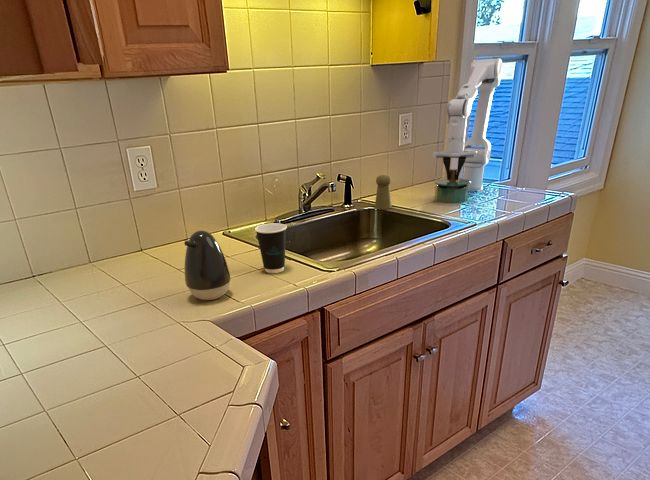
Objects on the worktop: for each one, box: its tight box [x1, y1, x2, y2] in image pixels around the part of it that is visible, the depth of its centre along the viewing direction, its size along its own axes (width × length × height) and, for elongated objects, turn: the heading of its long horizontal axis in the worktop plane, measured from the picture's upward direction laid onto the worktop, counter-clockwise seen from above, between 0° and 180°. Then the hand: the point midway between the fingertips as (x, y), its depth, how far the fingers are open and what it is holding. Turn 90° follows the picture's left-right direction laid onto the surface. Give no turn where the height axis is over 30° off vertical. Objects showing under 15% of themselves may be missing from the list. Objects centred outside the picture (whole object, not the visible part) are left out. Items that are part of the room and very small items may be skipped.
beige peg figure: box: [374, 174, 393, 210], centre depth 177 cm, size 6×6×11 cm
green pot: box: [434, 184, 469, 205], centre depth 180 cm, size 11×11×6 cm
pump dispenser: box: [183, 229, 232, 301], centre depth 112 cm, size 10×10×15 cm
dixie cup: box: [254, 222, 288, 274], centre depth 126 cm, size 8×8×11 cm
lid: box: [434, 168, 471, 187], centre depth 177 cm, size 12×12×5 cm
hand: (452, 179), depth 178 cm, fingers closed on lid, 2 cm apart
